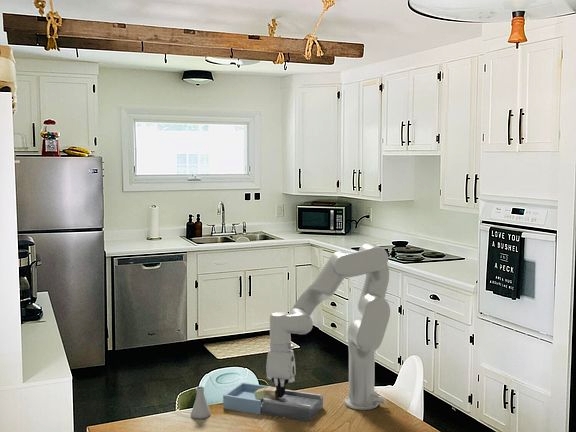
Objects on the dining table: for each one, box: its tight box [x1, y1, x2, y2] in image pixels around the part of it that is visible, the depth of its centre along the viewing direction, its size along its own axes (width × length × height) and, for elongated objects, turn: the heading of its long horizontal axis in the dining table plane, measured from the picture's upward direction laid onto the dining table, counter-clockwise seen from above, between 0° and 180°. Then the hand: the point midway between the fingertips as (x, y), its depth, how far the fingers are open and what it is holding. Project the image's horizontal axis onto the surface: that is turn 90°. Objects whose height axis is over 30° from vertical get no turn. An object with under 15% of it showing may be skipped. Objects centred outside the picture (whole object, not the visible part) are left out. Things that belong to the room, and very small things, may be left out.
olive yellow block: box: [254, 387, 268, 400], centre depth 226 cm, size 4×4×3 cm
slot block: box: [262, 389, 324, 423], centre depth 221 cm, size 18×14×5 cm
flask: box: [190, 386, 211, 419], centre depth 217 cm, size 7×7×10 cm
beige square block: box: [265, 386, 277, 399], centre depth 224 cm, size 4×4×3 cm
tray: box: [222, 382, 271, 415], centre depth 228 cm, size 15×15×5 cm
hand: (280, 396), depth 223 cm, fingers closed
